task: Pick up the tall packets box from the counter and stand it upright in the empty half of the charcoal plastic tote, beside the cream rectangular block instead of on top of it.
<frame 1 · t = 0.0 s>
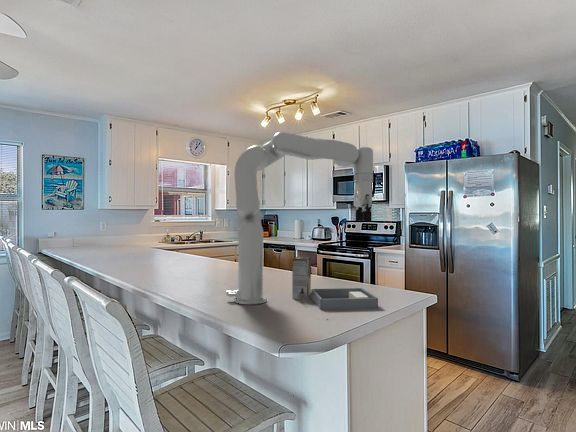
hand: (363, 221, 147), 31 cm above the counter, tool pointing down, fingers open, 9 cm apart
coffee box: (301, 297, 150), on the counter
cream rectangular block: (358, 302, 136), point 1 cm above the counter, touching tote
tote: (342, 305, 135), on the counter
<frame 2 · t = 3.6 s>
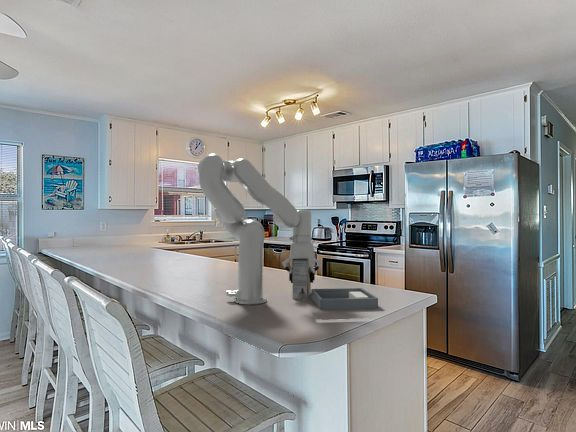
hand: (301, 282, 150), 6 cm above the counter, tool pointing down, fingers closed on coffee box, 7 cm apart
coffee box: (301, 297, 150), on the counter, touching gripper
everything else where it was.
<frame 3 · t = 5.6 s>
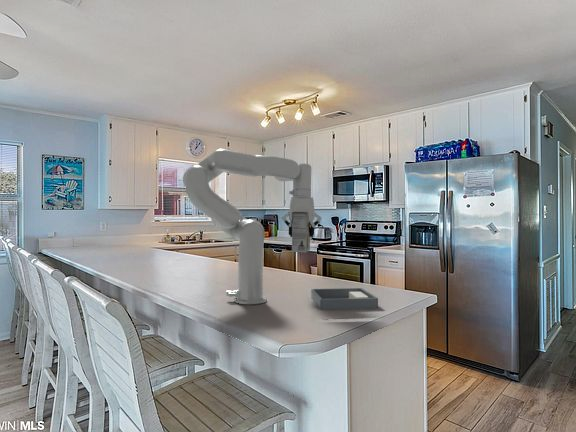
hand: (301, 236, 150), 25 cm above the counter, tool pointing down, fingers closed on coffee box, 7 cm apart
coffee box: (301, 251, 150), point 19 cm above the counter, touching gripper
everything else where it was.
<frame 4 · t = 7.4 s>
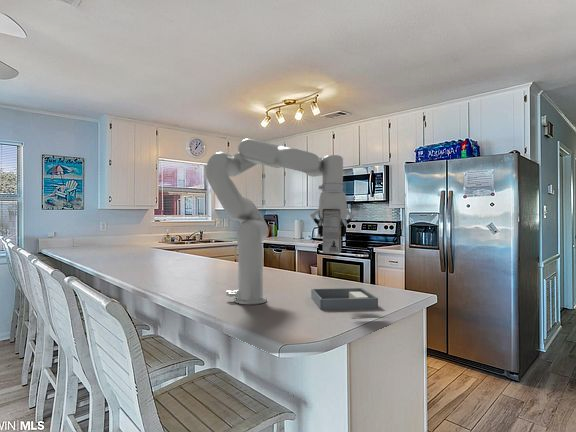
hand: (332, 236, 135), 26 cm above the counter, tool pointing down, fingers closed on coffee box, 7 cm apart
coffee box: (332, 252, 135), point 20 cm above the counter, touching gripper
everything else where it was.
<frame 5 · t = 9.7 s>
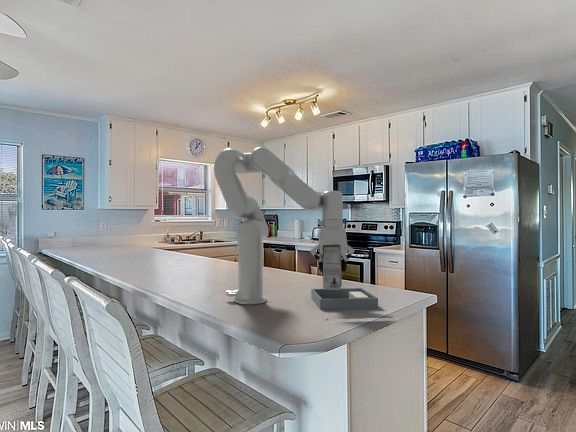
hand: (332, 271, 135), 13 cm above the counter, tool pointing down, fingers closed on coffee box, 7 cm apart
coffee box: (332, 288, 135), point 6 cm above the counter, touching gripper
everything else where it was.
when the fingers open (9 cm above the counter, at t = 11.5 s): coffee box drops 2 cm, resting on tote.
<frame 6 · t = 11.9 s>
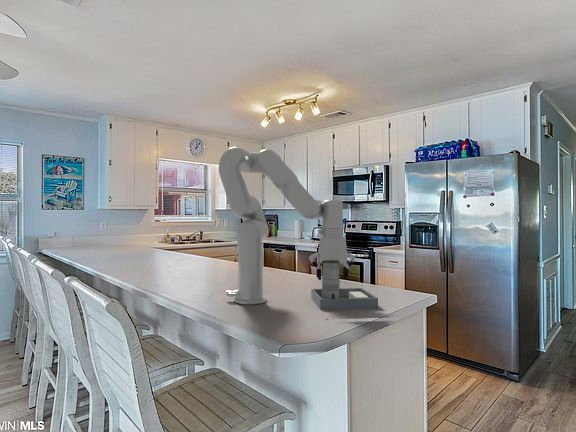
hand: (332, 279, 135), 10 cm above the counter, tool pointing down, fingers open, 9 cm apart
coffee box: (330, 303, 135), point 1 cm above the counter, touching tote
everything else where it was.
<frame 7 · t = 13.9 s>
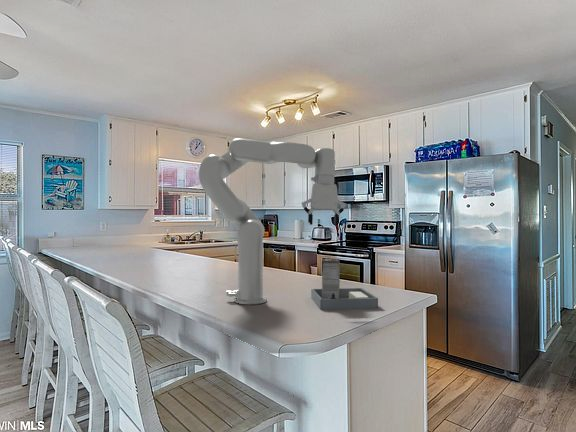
hand: (323, 224, 141), 30 cm above the counter, tool pointing down, fingers open, 9 cm apart
nothing on the counter moved.
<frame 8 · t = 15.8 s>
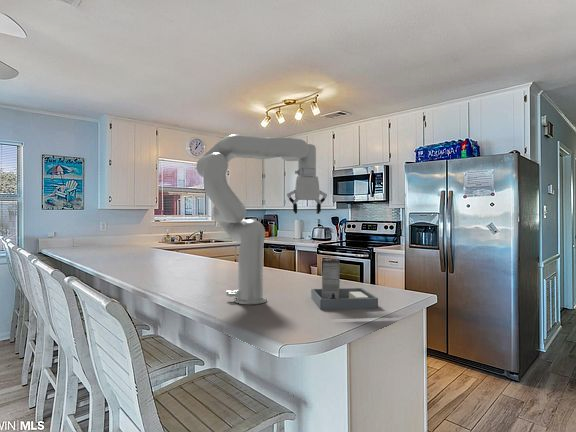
hand: (306, 213, 156), 34 cm above the counter, tool pointing down, fingers open, 9 cm apart
nothing on the counter moved.
at the end: coffee box inside the target area on the tote (0.2 cm from its centre), point 0.8 cm above the tote's base; coffee box tilted 0°; cream rectangular block moved 0.0 cm from its start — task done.
